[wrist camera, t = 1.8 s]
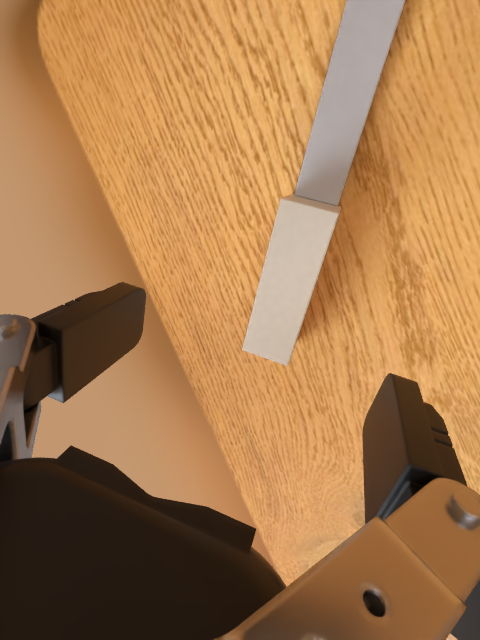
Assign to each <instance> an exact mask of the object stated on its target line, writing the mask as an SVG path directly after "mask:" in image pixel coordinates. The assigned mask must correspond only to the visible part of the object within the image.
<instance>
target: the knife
mask: <svg viewBox="0 0 480 640" xmlns="http://www.w3.org/2000/svg"><path fill="white" fill-rule="evenodd" d="M405 2H406V0H347V1H346V5H345V8H344V12H343V16H342V19H341V23H340V27H339V30H338V34H337V38H336V41H335V45H334V49H333V53H332V56H331V60H330V64H329V67H328V71H327V75H326V78H325V82H324V86H323V89H322V93H321V97H320V101H319V104H318V108H317V112H316V115H315V119H314V123H313V126H312V130H311V134H310V137H309V141H308V145H307V149H306V152H305V156H304V160H303V163H302V167H301V171H300V174H299V178H298V182H297V186H296V189H295V193H294V194H291V195H288V196H286V197H283V198H281V199H280V203H279V207H278V211H277V215H276V219H275V223H274V226H273V230H272V234H271V238H270V242H269V246H268V250H267V254H266V258H265V262H264V266H263V270H262V274H261V277H260V281H259V285H258V289H257V293H256V297H255V301H254V305H253V309H252V313H251V317H250V321H249V325H248V328H247V332H246V336H245V340H244V344H243V348H242V349H243V351H246V352H249V353H252V354H255V355H258V356H260V357H263V358H266V359H269V360H272V361H274V362H277V363H280V364H283V365H286V366H288V365H289V362H290V359H291V356H292V353H293V350H294V347H295V344H296V342H297V339H298V336H299V333H300V330H301V327H302V324H303V321H304V318H305V315H306V312H307V309H308V306H309V303H310V300H311V297H312V294H313V291H314V288H315V285H316V282H317V279H318V276H319V273H320V270H321V267H322V264H323V261H324V258H325V255H326V252H327V249H328V247H329V244H330V241H331V238H332V235H333V232H334V229H335V226H336V223H337V220H338V217H339V214H340V211H341V206H338V204H339V201H340V198H341V195H342V192H343V189H344V186H345V183H346V180H347V177H348V174H349V171H350V168H351V165H352V162H353V159H354V156H355V153H356V150H357V147H358V144H359V141H360V138H361V135H362V131H363V128H364V125H365V122H366V119H367V116H368V113H369V110H370V107H371V104H372V101H373V98H374V95H375V92H376V89H377V86H378V83H379V80H380V77H381V74H382V71H383V68H384V65H385V62H386V59H387V56H388V53H389V50H390V47H391V44H392V41H393V38H394V35H395V32H396V29H397V26H398V23H399V20H400V17H401V14H402V11H403V8H404V5H405Z"/></svg>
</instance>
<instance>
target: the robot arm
mask: <svg viewBox="0 0 480 640" xmlns="http://www.w3.org/2000/svg"><path fill="white" fill-rule="evenodd" d="M145 301H146V293H145V290H143V289H142V288H139V287H136V286H133V285H130V284H127V283H124V282H121V283H118V284H116V285H114V286H112V287H110V288H107V289H105V290H103V291H98V292H93V293H88V294H85V295H83V296H81V297H79V298H77V299H75V301H74V300H72V301H70V302H68V303H65V305H61V306H58V307H56V308H54V309H52V310H50V311H47V312H45V313H43V314H41V315H38V316H36V317H34V318H32V319H29V318H27V317H24V316H20V315H10V314H8V315H7V314H5V315H0V640H446V638H447V637H448V635H449V634H450V633H451V634H452V635H453V636H454V637H456V638H457V639H458V640H480V495H479V494H478V493H476V492H475V491H474V490H472V489H471V488H469V487H468V486H467V484H466V481H465V478H464V475H463V472H462V470H461V467H460V464H459V461H458V459H457V456H456V453H455V450H454V448H452V446H453V445H452V442H451V439H450V437H449V436H448V431H447V428H446V425H445V423H444V420H443V418H442V417H441V416H440V415H439V414H438V412H437V411H436V410H435V409H434V408H433V406H432V405H430V404H427V403H424V402H423V399H422V396H421V393H420V389H419V386H418V383H417V382H415V381H412V380H409V379H406V378H403V377H400V376H397V375H394V374H392V373H389V374H388V375H387V376H386V378H385V379H384V381H383V383H382V385H381V387H380V389H379V391H378V393H377V395H376V397H375V399H374V401H373V403H372V405H371V407H370V409H369V411H368V413H367V416H366V419H365V422H364V426H363V465H364V498H365V525H364V526H363V527H362V528H360V529H359V530H358V531H357V532H355V533H354V534H353V535H352V536H350V537H349V538H348V539H347V540H345V541H344V542H343V543H342V544H340V545H339V546H338V547H337V548H335V549H334V550H333V551H332V552H330V553H329V554H328V555H326V556H325V557H324V558H323V559H321V560H320V561H319V562H318V563H316V564H315V565H314V566H313V567H311V568H310V569H309V570H308V571H306V572H305V573H304V574H303V575H301V576H300V577H299V578H298V579H296V580H295V581H294V582H293V583H291V584H290V585H289V586H288V587H286V585H285V584H284V582H283V581H282V579H281V577H280V576H279V575H278V574H277V572H276V571H275V570H274V569H273V567H272V566H271V565H270V564H269V563H268V562H267V561H266V560H265V559H264V557H263V556H262V555H261V554H260V553H258V552H257V551H256V550H255V549H254V548H252V547H251V546H252V542H253V539H254V535H255V531H256V529H255V528H253V527H251V526H249V525H246V524H244V523H242V522H240V521H238V520H235V519H233V518H231V517H229V516H227V515H224V514H222V513H220V512H218V511H215V510H213V509H211V508H209V507H206V506H200V505H195V504H189V503H184V502H178V501H173V500H167V499H162V498H156V497H153V496H151V495H149V494H147V493H146V492H145V491H144V490H143V489H141V488H140V487H139V486H138V485H137V484H135V483H134V482H133V481H132V480H131V479H130V478H128V477H127V476H126V475H125V474H124V473H122V472H121V471H120V470H119V469H118V468H117V467H115V466H114V465H113V464H111V463H109V462H107V461H104V460H102V459H100V458H98V457H95V456H93V455H91V454H89V453H87V452H84V451H82V450H80V449H78V448H75V447H73V446H70V447H69V448H68V449H67V450H66V451H65V452H64V453H62V454H61V455H60V456H59V457H58V458H57V459H55V458H31V457H32V451H33V446H34V441H35V437H36V432H37V427H38V421H39V417H40V412H41V400H42V399H43V398H45V397H46V396H48V397H50V398H53V399H55V400H57V401H60V402H62V403H64V402H65V401H67V400H68V399H69V398H71V397H72V396H73V395H74V394H76V393H77V392H78V391H79V390H81V389H82V388H83V387H84V386H86V385H87V384H88V383H90V382H91V381H92V380H93V379H95V378H96V377H97V376H99V375H100V374H101V373H102V372H104V371H105V370H106V369H107V368H109V367H110V366H111V365H113V364H114V363H115V362H116V361H117V360H119V359H120V358H121V357H123V356H124V355H125V354H127V353H128V352H129V351H130V350H132V349H133V348H134V347H135V346H136V345H137V343H138V342H139V340H140V338H141V335H142V331H143V323H144V312H145Z"/></svg>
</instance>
